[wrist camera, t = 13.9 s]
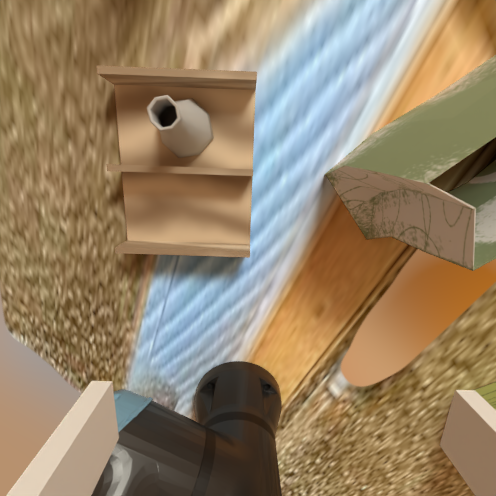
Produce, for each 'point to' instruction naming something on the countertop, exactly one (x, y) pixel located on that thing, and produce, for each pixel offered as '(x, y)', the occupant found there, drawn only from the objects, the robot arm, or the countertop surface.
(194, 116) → the flask
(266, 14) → the countertop surface
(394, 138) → the grocery bag
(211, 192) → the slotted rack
